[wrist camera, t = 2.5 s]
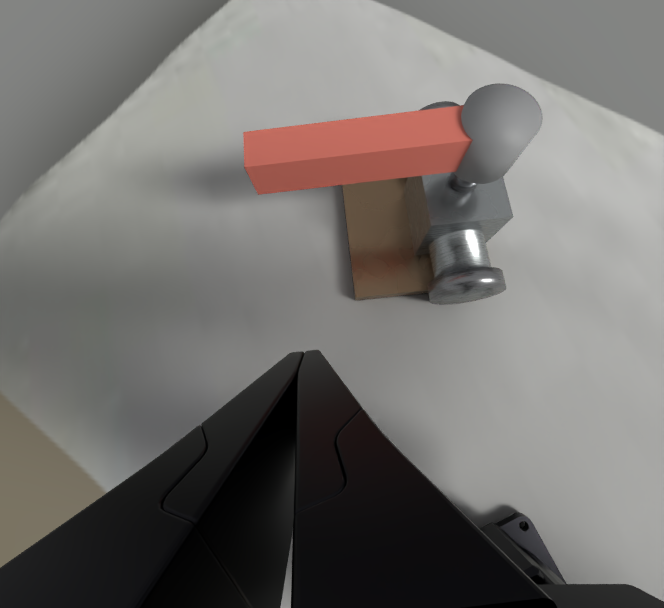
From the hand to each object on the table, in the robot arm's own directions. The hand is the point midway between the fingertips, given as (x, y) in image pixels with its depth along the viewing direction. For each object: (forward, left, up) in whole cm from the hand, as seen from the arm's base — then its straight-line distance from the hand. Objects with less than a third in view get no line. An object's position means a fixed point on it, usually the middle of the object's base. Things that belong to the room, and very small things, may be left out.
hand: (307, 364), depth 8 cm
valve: (+7, -9, -12) cm, 16 cm away
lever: (+8, -7, -5) cm, 11 cm away
